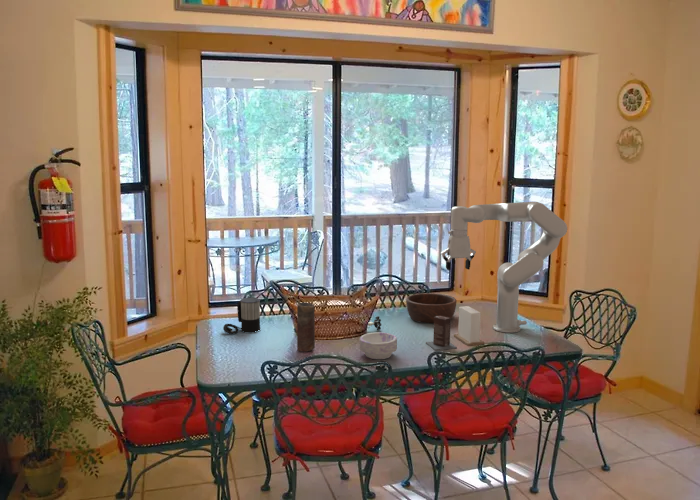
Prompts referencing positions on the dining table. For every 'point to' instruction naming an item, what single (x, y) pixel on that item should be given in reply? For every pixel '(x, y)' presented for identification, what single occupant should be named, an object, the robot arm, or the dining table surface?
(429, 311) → the wooden bowl
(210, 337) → the dining table surface
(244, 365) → the dining table surface
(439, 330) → the box
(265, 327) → the dining table surface
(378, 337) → the white bowl
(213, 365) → the dining table surface
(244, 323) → the milk frother
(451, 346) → the slate mat
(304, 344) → the candle
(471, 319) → the mounted unit
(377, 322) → the valve
